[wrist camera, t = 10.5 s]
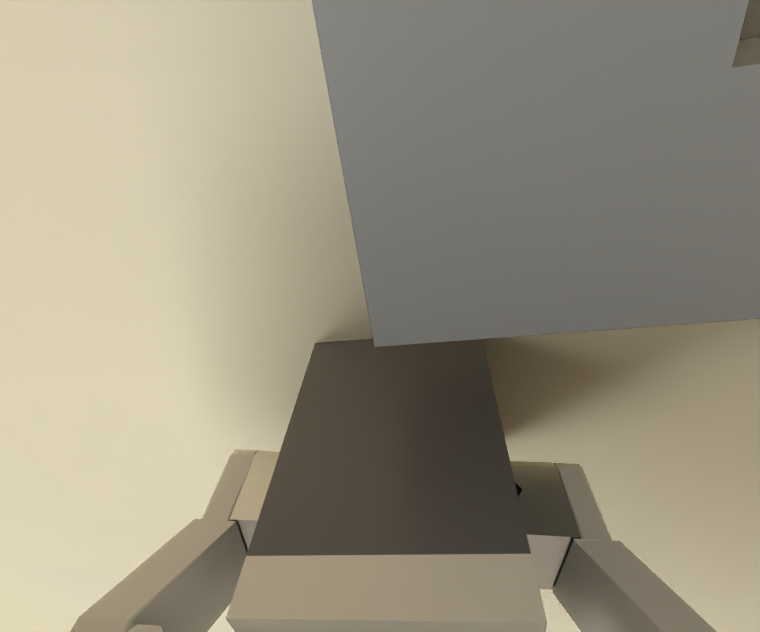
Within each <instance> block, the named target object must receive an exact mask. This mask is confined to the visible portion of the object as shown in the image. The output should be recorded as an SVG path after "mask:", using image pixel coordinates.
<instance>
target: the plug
mask: <svg viewBox="0 0 760 632" xmlns="http://www.w3.org/2000/svg"><path fill="white" fill-rule="evenodd" d="M226 619H227V621H228V622H229V624H230V625H231V626H232V628H233V629H234V631H235V632H545V631H546V625H547V621H546V616H545V612H544V608H543V603H542V599H541V595H540V590H539V586H538V581H537V577H536V573H535V568H534V564H533V560H532V555H531V551H530V547H529V542H528V538H527V534H526V529H525V525H524V521H523V516H522V512H521V508H520V503H519V499H518V495H517V490H516V486H515V482H514V477H513V473H512V469H511V464H510V460H509V456H508V451H507V447H506V443H505V438H504V434H503V430H502V425H501V421H500V417H499V412H498V408H497V404H496V399H495V395H494V391H493V386H492V382H491V378H490V373H489V369H488V365H487V360H486V356H485V352H484V347H483V343H482V339H475V340H462V341H448V342H435V343H421V344H407V345H394V346H380V347H374V341H373V339H370V340H357V341H343V342H329V343H315V346H314V349H313V352H312V355H311V358H310V361H309V364H308V367H307V370H306V373H305V376H304V380H303V383H302V386H301V389H300V392H299V395H298V398H297V401H296V404H295V407H294V410H293V413H292V417H291V420H290V423H289V426H288V429H287V432H286V435H285V438H284V441H283V444H282V447H281V450H280V453H279V457H278V460H277V463H276V466H275V469H274V472H273V475H272V478H271V481H270V484H269V487H268V490H267V493H266V497H265V500H264V503H263V506H262V509H261V512H260V515H259V518H258V521H257V524H256V527H255V530H254V534H253V537H252V540H251V543H250V546H249V549H248V552H247V555H246V558H245V561H244V564H243V567H242V570H241V574H240V577H239V580H238V583H237V586H236V589H235V592H234V595H233V598H232V601H231V604H230V607H229V610H228V614H227V617H226Z"/></svg>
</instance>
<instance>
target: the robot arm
mask: <svg viewBox="0 0 760 632" xmlns="http://www.w3.org/2000/svg"><path fill="white" fill-rule="evenodd" d="M279 453H280V452H270V451H254V450H235V451H234V452H233V453H232V454H231V456H230V457H229V459H228V462H227V464H226V466H225V468H224V471H223V473H222V475H221V477H220V480H219V482H218V484H217V486H216V489H215V491H214V493H213V495H212V498H211V500H210V502H209V504H208V506H207V509H206V511H205V513H204V515H203V518H202V519H194V520H193V521H192V522H191V523H189V524H188V525H187V526H186V527H185V528H184V529H182V530H181V531H180V532H179V533H178V534H176V535H175V536H174V537H173V538H172V539H171V540H169V541H168V542H167V543H166V544H165V545H163V546H162V547H161V548H160V549H159V550H158V551H156V552H155V553H154V554H153V555H152V556H151V557H149V558H148V559H147V560H146V561H145V562H143V563H142V564H141V565H140V566H139V567H138V568H136V569H135V570H134V571H133V572H132V573H130V574H129V575H128V576H127V577H126V578H125V579H123V580H122V581H121V582H120V583H119V584H117V585H116V586H115V587H114V588H113V589H112V590H110V591H109V592H108V593H107V594H106V595H104V596H103V597H102V598H101V599H100V600H99V601H97V602H96V603H95V604H94V605H93V606H91V607H90V608H89V609H88V610H87V611H86V612H84V613H83V614H82V615H81V616H80V617H79V618H78V620H77V621H76V623H75V625H74V626H73V628H72V630H71V632H207V631H208V630H209V629H210V627H211V626H212V625H213V624H214V623H215V621H216V620H217V619H218V618H219V616H220V615H221V614H222V613H223V612H224V610H225V609H226V608H227V607H228V605H229V604H230V603H231V601H232V598H233V595H234V592H235V589H236V586H237V583H238V580H239V577H240V574H241V570H242V567H243V564H244V561H245V558H246V555H247V552H248V549H249V546H250V543H251V540H252V537H253V534H254V530H255V527H256V524H257V521H258V518H259V515H260V512H261V509H262V506H263V503H264V500H265V497H266V493H267V490H268V487H269V484H270V481H271V478H272V475H273V472H274V469H275V466H276V463H277V460H278V457H279ZM510 464H511V469H512V473H513V477H514V482H515V486H516V490H517V495H518V499H519V503H520V508H521V512H522V516H523V521H524V525H525V529H526V534H527V538H528V542H529V547H530V551H531V555H532V560H533V564H534V568H535V573H536V577H537V581H538V586H539V588H540V589H551V590H553V593H554V595H555V596H556V597H557V599H558V600H559V601H560V603H561V604H562V606H563V607H564V608H565V610H566V611H567V612H568V614H569V615H570V617H571V618H572V619H573V621H574V622H575V623H576V625H577V626H578V628H579V629H580V630H581V632H716V631H715V630H714V629H713V628H712V627H711V626H710V625H709V624H708V623H707V622H706V621H705V620H703V619H702V618H701V617H700V616H699V615H698V614H697V613H696V612H695V611H694V610H693V609H692V608H691V607H690V606H689V605H687V604H686V603H685V602H684V601H683V600H682V599H681V598H680V597H679V596H678V595H677V594H676V593H675V592H674V591H673V590H672V589H670V588H669V587H668V586H667V585H666V584H665V583H664V582H663V581H662V580H661V579H660V578H659V577H658V576H657V575H656V574H654V573H653V572H652V571H651V570H650V569H649V568H648V567H647V566H646V565H645V564H644V563H643V562H642V561H641V560H640V559H639V558H637V557H636V556H635V555H634V554H633V553H632V552H631V551H630V550H629V549H628V548H627V547H626V546H625V545H624V544H623V543H621V542H620V541H613V540H612V539H611V537H610V534H609V532H608V529H607V527H606V524H605V522H604V519H603V517H602V514H601V512H600V510H599V507H598V505H597V502H596V500H595V497H594V495H593V492H592V490H591V487H590V485H589V482H588V480H587V478H586V475H585V473H584V470H583V468H582V467H581V466H580V465H579V464H565V463H551V462H518V461H510Z"/></svg>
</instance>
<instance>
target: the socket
mask: <svg viewBox="0 0 760 632" xmlns="http://www.w3.org/2000/svg"><path fill="white" fill-rule="evenodd" d="M312 4H313V10H314V15H315V21H316V26H317V32H318V37H319V43H320V48H321V54H322V60H323V65H324V71H325V76H326V82H327V87H328V93H329V98H330V104H331V109H332V115H333V120H334V126H335V131H336V137H337V142H338V148H339V153H340V159H341V164H342V170H343V175H344V181H345V187H346V192H347V198H348V203H349V209H350V214H351V220H352V225H353V231H354V236H355V242H356V247H357V253H358V258H359V264H360V269H361V275H362V280H363V286H364V291H365V297H366V303H367V308H368V314H369V319H370V325H371V330H372V336H373V341H374V347H380V346H394V345H407V344H421V343H435V342H448V341H462V340H475V339H489V338H503V337H516V336H530V335H544V334H557V333H571V332H585V331H598V330H612V329H626V328H639V327H653V326H666V325H680V324H694V323H707V322H721V321H735V320H748V319H760V37H755V38H749V39H742V40H739V38H740V34H741V31H742V27H743V23H744V19H745V15H746V11H747V7H748V4H749V0H312Z"/></svg>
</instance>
